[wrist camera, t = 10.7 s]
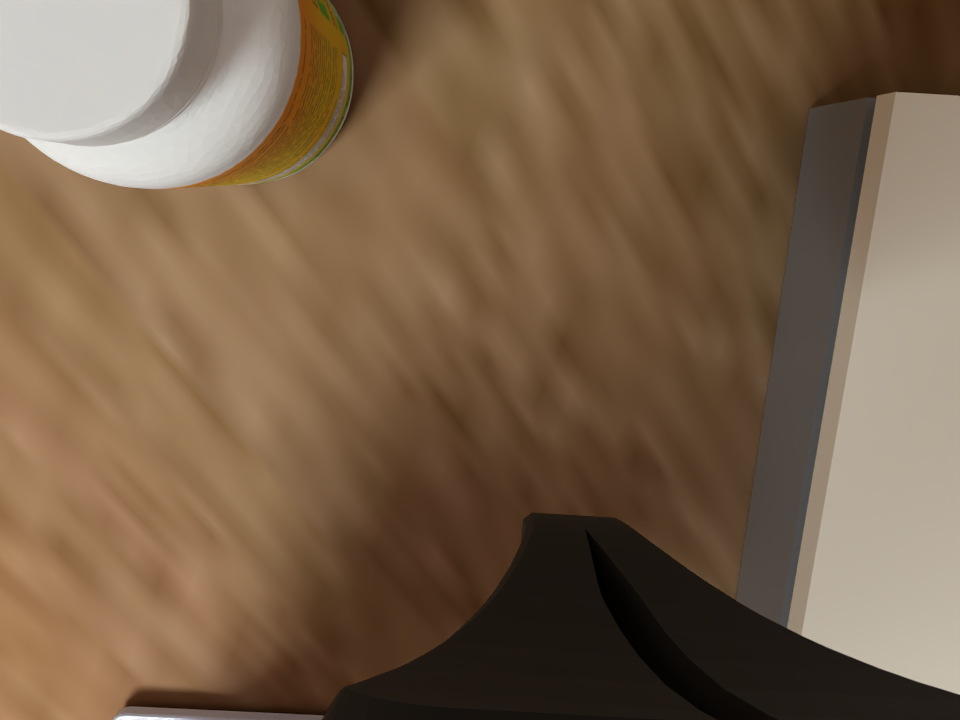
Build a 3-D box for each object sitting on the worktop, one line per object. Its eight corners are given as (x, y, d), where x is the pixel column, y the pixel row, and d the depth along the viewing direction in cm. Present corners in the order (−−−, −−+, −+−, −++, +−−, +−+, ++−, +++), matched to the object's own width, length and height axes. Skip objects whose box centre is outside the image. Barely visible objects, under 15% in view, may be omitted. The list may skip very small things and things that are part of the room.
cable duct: (962, 795, 25) (1028, 880, 22) (708, 784, 24) (739, 867, 21) (1123, 128, 20) (1234, 120, 17) (809, 108, 20) (867, 97, 17)
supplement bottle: (394, 24, 19) (318, -118, 10) (300, 221, 20) (150, 266, 11) (190, -92, 19) (-102, -361, 9) (104, 118, 20) (-237, 70, 10)
